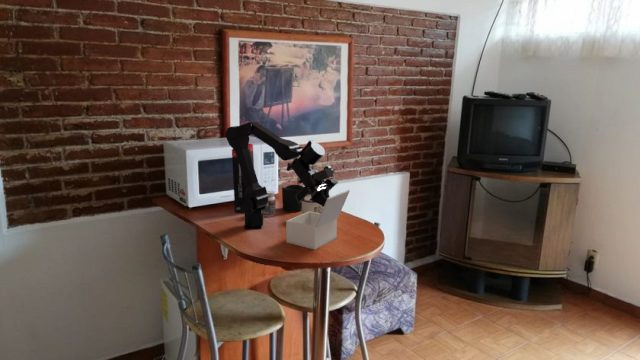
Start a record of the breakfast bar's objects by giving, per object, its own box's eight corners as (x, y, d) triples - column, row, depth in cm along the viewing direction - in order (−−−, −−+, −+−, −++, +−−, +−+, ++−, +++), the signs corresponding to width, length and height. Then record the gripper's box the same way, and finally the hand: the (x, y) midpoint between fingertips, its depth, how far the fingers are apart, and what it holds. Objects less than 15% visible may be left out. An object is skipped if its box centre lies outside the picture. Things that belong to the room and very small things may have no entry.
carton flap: (327, 197, 155) (328, 198, 155) (348, 189, 166) (349, 190, 166) (315, 226, 160) (316, 227, 159) (336, 216, 171) (338, 217, 170)
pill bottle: (272, 217, 196) (272, 194, 194) (259, 216, 197) (259, 193, 195) (277, 213, 201) (277, 190, 199) (264, 212, 203) (264, 189, 201)
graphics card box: (249, 213, 201) (248, 149, 195) (233, 213, 201) (231, 149, 195) (255, 202, 218) (254, 143, 212) (240, 202, 218) (238, 143, 212)
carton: (286, 242, 168) (286, 220, 166) (309, 231, 179) (309, 211, 177) (315, 249, 161) (315, 227, 159) (336, 238, 173) (337, 216, 171)
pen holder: (305, 212, 204) (305, 189, 202) (283, 213, 202) (283, 190, 200) (301, 206, 213) (301, 184, 211) (280, 207, 211) (280, 185, 209)
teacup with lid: (313, 224, 188) (313, 195, 186) (296, 219, 194) (296, 191, 191) (332, 217, 197) (333, 189, 194) (316, 213, 203) (316, 186, 200)
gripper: (303, 163, 154) (331, 201, 151) (334, 155, 170) (360, 190, 166) (284, 183, 160) (310, 221, 157) (315, 173, 176) (340, 208, 172)
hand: (331, 209), depth 163 cm, fingers closed, pressing on carton flap
